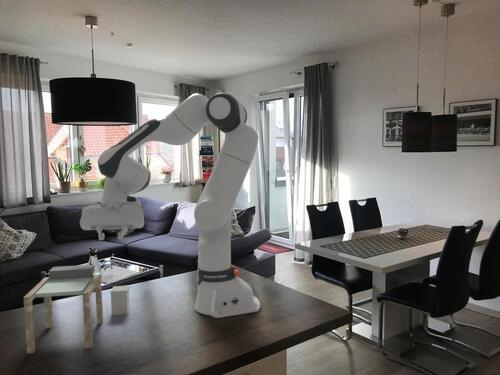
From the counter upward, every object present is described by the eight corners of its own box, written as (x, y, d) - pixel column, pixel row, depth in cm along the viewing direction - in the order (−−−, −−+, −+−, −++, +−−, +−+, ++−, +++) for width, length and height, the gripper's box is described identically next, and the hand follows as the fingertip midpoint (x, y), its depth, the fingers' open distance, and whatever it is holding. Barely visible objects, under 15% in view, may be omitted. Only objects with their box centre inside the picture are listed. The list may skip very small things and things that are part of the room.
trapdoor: (94, 276, 125) (94, 264, 125) (82, 294, 109) (81, 281, 109) (53, 278, 123) (53, 267, 123) (35, 297, 107) (34, 284, 107)
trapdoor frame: (102, 322, 125) (100, 274, 124) (91, 348, 109) (88, 293, 107) (47, 326, 123) (44, 277, 121) (27, 353, 106) (23, 297, 105)
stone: (129, 308, 136) (128, 285, 136) (127, 314, 131) (126, 290, 131) (114, 309, 135) (113, 286, 135) (111, 315, 131) (110, 291, 130)
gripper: (81, 199, 133) (74, 234, 124) (144, 198, 136) (142, 231, 128) (85, 210, 138) (79, 245, 129) (145, 209, 141) (143, 242, 132)
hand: (110, 238), depth 128 cm, fingers open, 5 cm apart
